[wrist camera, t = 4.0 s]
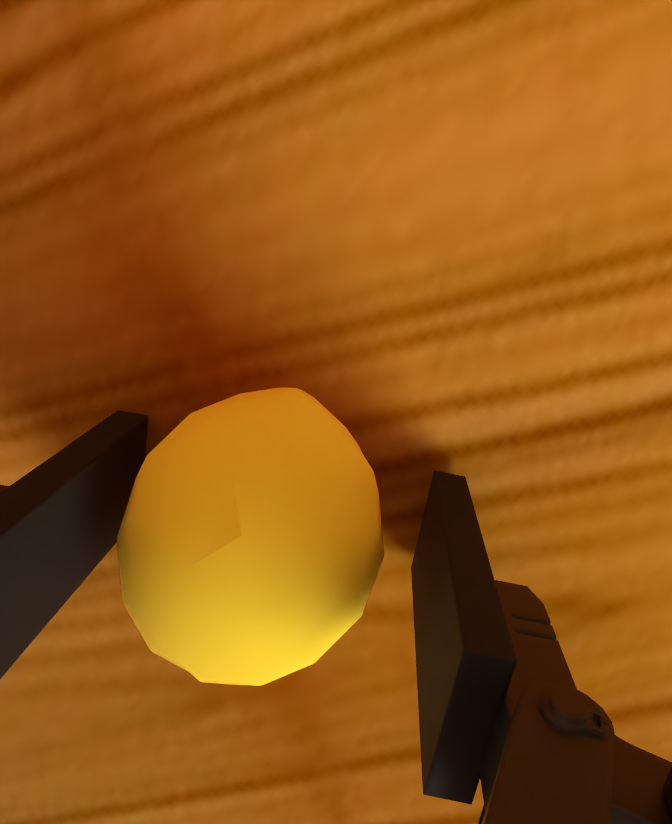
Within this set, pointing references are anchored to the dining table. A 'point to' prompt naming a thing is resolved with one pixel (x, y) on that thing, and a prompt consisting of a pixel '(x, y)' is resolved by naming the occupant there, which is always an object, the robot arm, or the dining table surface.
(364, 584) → the lemon
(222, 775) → the dining table surface
